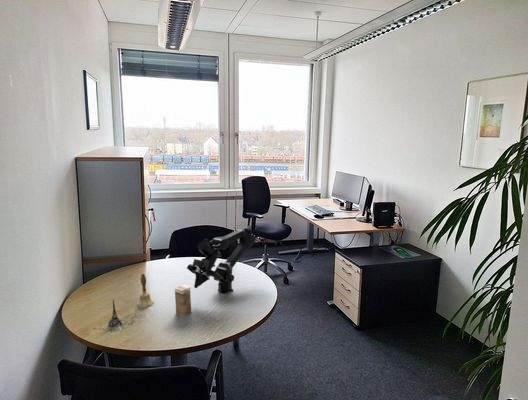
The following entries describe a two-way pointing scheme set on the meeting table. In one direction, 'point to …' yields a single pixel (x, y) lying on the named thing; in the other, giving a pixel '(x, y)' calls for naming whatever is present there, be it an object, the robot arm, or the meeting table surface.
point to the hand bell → (144, 295)
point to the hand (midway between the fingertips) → (195, 287)
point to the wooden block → (183, 300)
